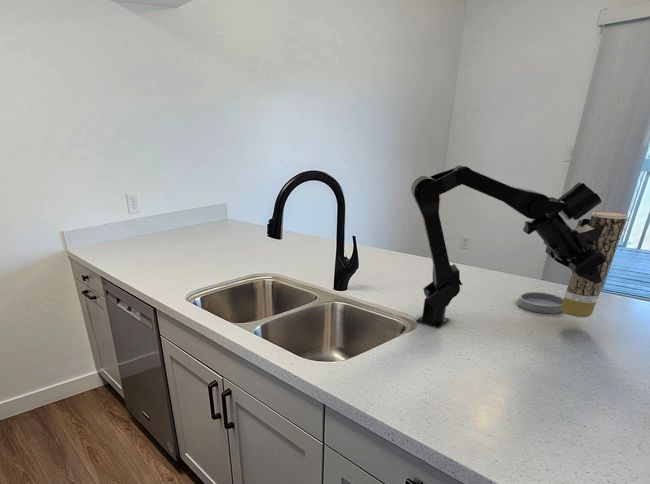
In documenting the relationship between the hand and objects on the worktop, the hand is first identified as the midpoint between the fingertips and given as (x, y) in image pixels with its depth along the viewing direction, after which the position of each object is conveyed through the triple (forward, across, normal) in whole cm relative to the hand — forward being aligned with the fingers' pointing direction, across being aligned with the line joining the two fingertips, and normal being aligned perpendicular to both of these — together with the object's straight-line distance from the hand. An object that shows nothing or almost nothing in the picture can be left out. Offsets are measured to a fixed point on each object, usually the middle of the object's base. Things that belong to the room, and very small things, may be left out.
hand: (592, 278), depth 109 cm
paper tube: (+6, 0, +8) cm, 10 cm away
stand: (+7, +14, +12) cm, 20 cm away
